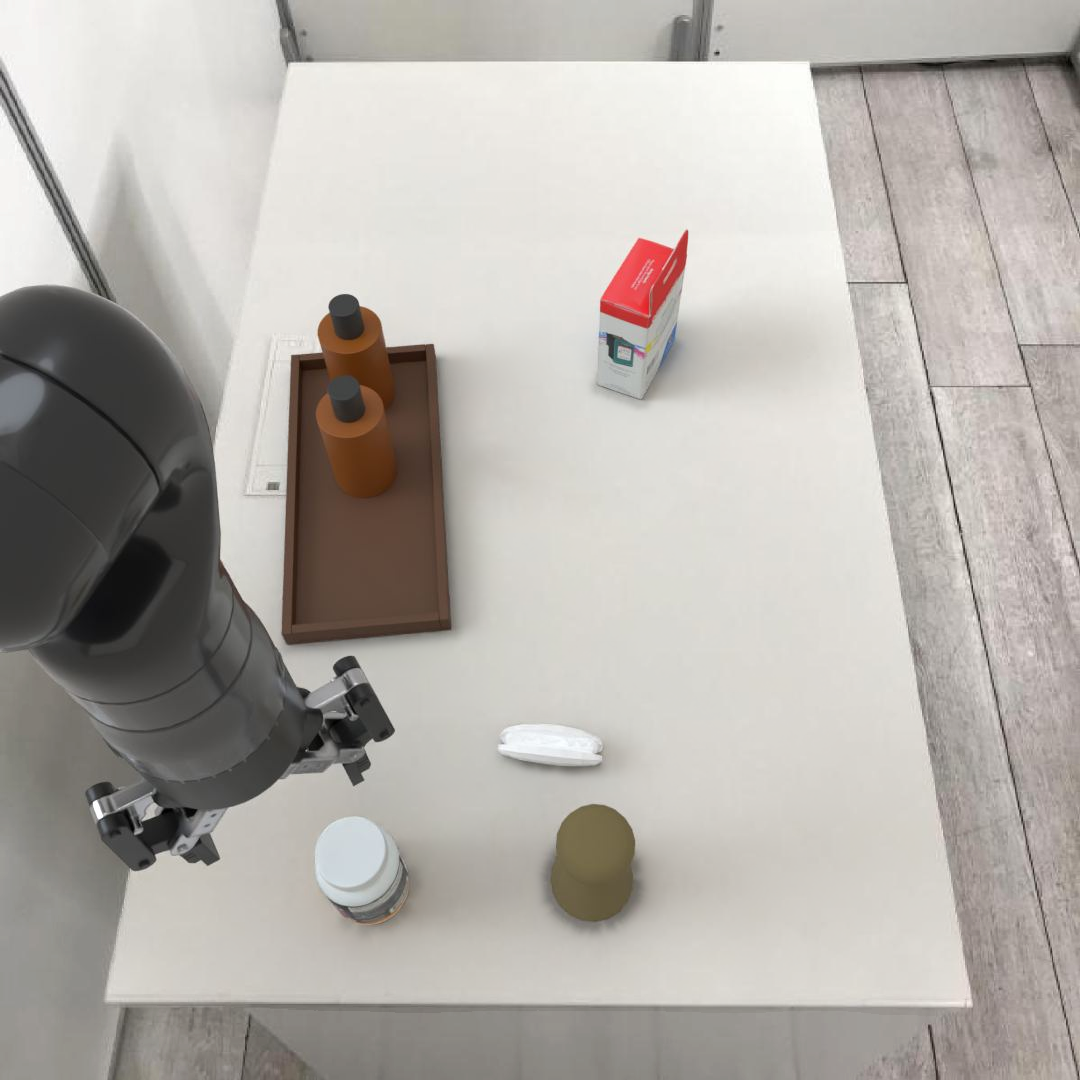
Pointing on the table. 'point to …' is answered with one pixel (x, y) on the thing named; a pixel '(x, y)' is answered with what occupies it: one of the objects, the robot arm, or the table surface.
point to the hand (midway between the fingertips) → (281, 807)
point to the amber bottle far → (356, 346)
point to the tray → (366, 517)
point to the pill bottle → (361, 870)
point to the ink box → (640, 316)
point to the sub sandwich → (551, 745)
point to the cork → (593, 863)
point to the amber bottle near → (356, 438)
